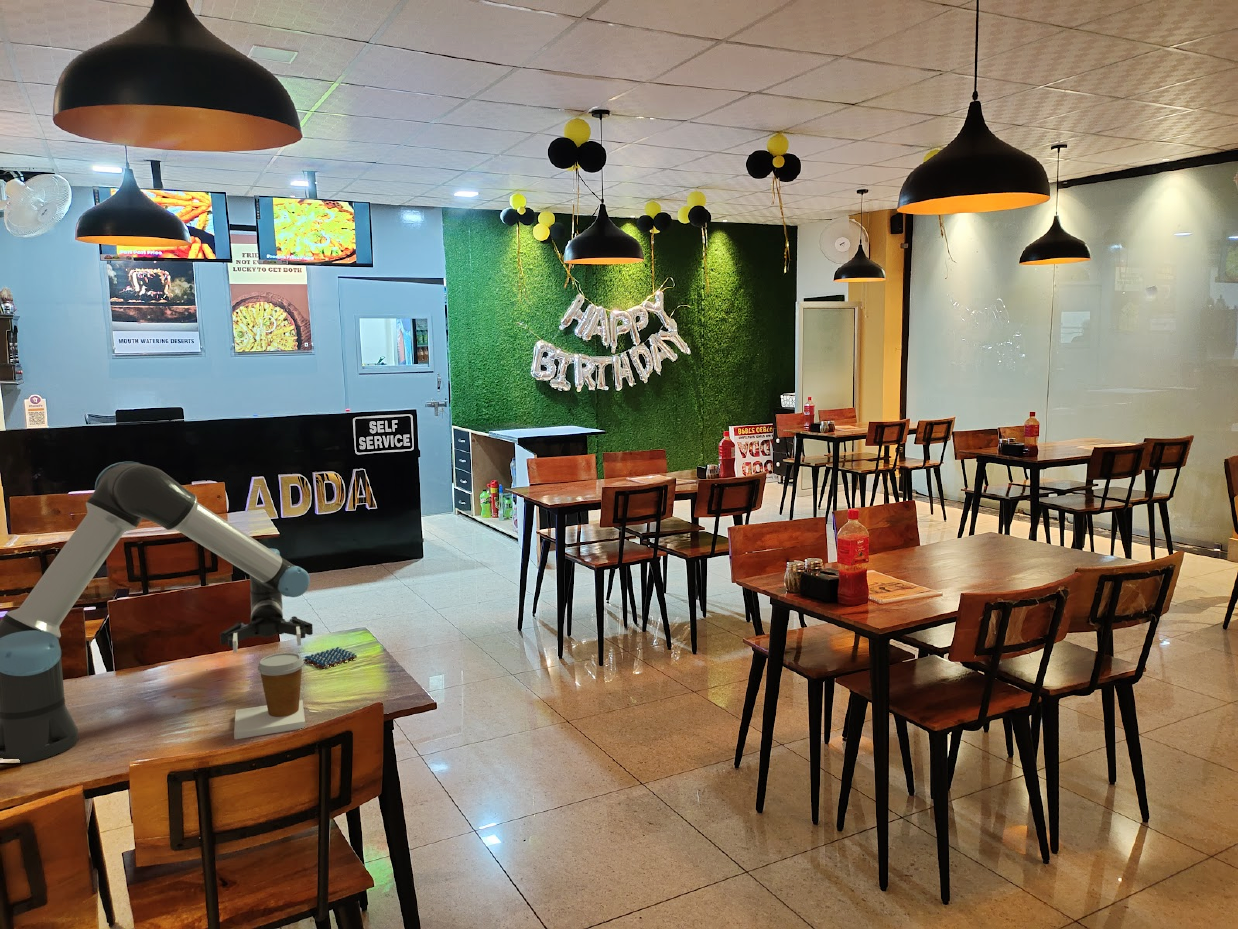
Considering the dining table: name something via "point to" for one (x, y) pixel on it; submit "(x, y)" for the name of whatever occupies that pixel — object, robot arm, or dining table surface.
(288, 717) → the pad
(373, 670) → the dining table surface
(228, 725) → the dining table surface
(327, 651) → the woven mat
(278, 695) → the disposable coffee cup
